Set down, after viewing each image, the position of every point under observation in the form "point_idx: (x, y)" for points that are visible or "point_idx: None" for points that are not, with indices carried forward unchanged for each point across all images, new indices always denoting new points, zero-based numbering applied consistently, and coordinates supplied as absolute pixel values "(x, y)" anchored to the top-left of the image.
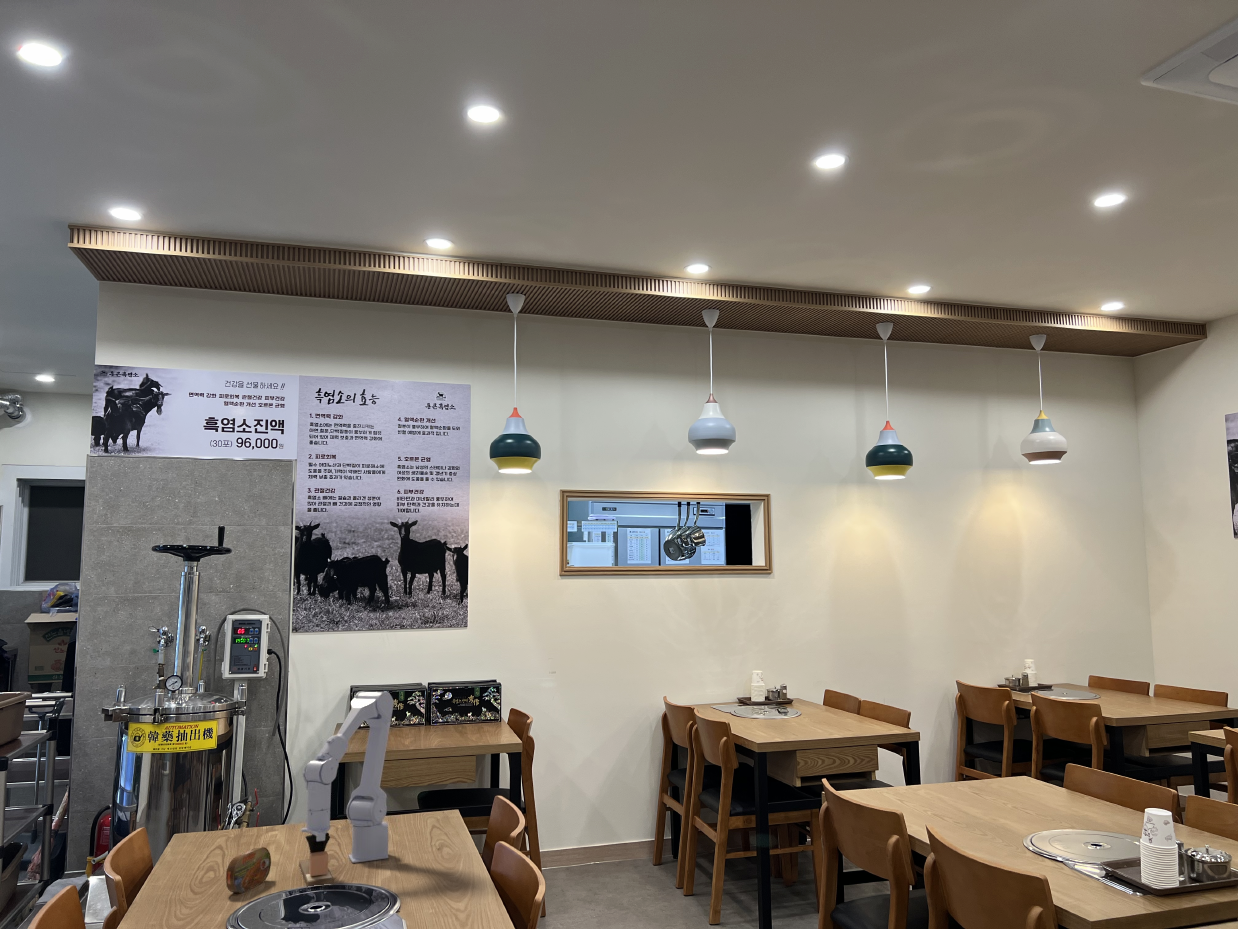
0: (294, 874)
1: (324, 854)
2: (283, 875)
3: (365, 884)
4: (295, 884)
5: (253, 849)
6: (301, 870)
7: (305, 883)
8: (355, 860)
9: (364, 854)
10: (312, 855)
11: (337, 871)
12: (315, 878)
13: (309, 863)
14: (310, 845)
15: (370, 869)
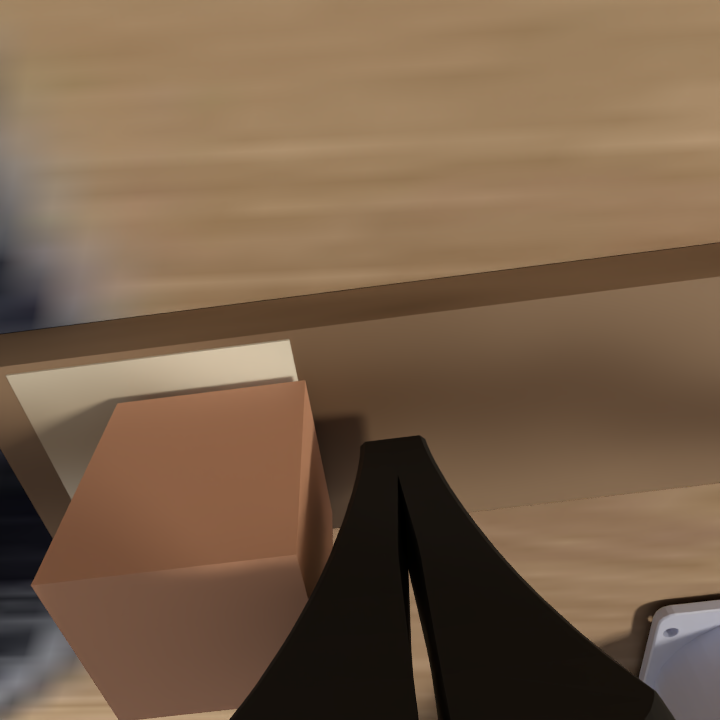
0: (656, 175)
1: (143, 695)
2: (706, 30)
3: (59, 668)
4: (202, 208)
5: None
6: (676, 260)
7: (190, 311)
8: (677, 630)
9: (677, 704)
10: (128, 593)
11: (505, 526)
12: (82, 437)
13: (278, 452)
14: (258, 692)
15: (431, 679)
